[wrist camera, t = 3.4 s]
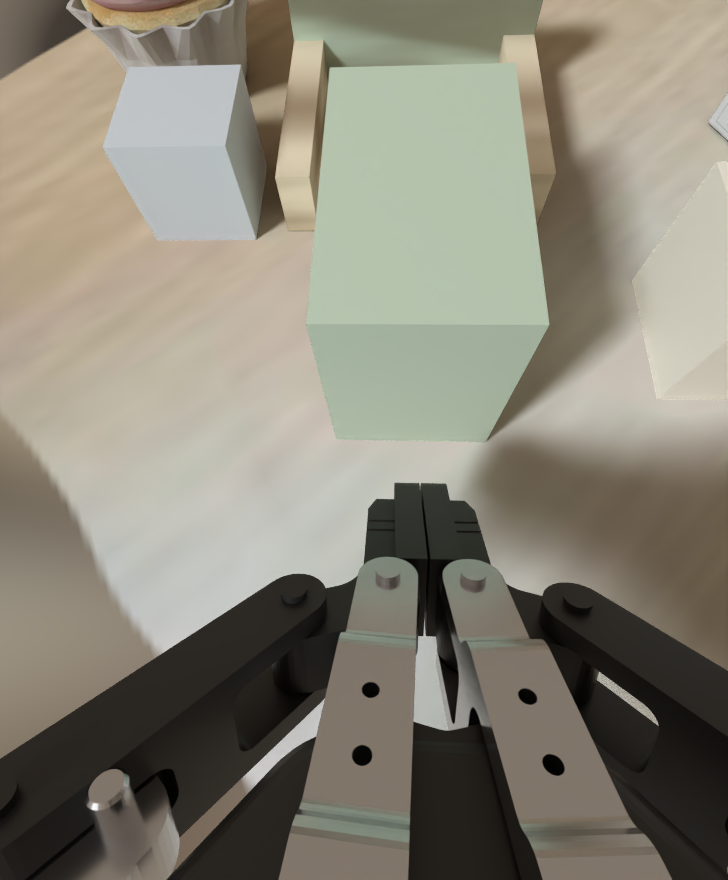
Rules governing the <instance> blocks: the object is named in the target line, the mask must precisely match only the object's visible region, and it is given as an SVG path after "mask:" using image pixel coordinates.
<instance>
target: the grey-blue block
mask: <svg viewBox="0 0 728 880" xmlns="http://www.w3.org/2000/svg"><path fill="white" fill-rule="evenodd" d="M102 148H103V150H104V151H105V153H106V155H107V156H108V158H109V160H110V161H111V163H112V165H113V166H114V168H115V170H116V172H117V173H118V175H119V177H120V178H121V180H122V182H123V183H124V185H125V187H126V188H127V190H128V192H129V194H130V195H131V197H132V199H133V200H134V202H135V204H136V205H137V207H138V209H139V210H140V212H141V214H142V215H143V217H144V219H145V221H146V222H147V224H148V226H149V227H150V229H151V231H152V232H153V234H154V236H155V237H156V239H157V240H256V239H257V232H258V225H259V218H260V212H261V205H262V198H263V191H264V185H265V178H266V171H267V164H266V160H265V156H264V152H263V149H262V145H261V141H260V137H259V133H258V129H257V125H256V121H255V117H254V113H253V110H252V106H251V102H250V98H249V94H248V90H247V86H246V82H245V78H244V74H243V70H242V67H241V65H201V66H160V67H129V68H128V71H127V74H126V77H125V80H124V83H123V87H122V90H121V93H120V96H119V99H118V102H117V105H116V108H115V111H114V114H113V117H112V120H111V123H110V126H109V129H108V132H107V135H106V138H105V141H104V144H103V147H102Z"/></svg>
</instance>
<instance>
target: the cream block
mask: <svg viewBox="0 0 728 880" xmlns="http://www.w3.org/2000/svg"><path fill="white" fill-rule="evenodd" d="M632 284H633V288H634V293H635V298H636V302H637V307H638V312H639V317H640V321H641V326H642V331H643V336H644V340H645V345H646V350H647V355H648V359H649V364H650V369H651V373H652V378H653V383H654V388H655V392H656V397H657V399H667V400H728V161H720V162H716V163H715V165H714V166H713V167H712V169H711V170H710V172H709V173H708V174H707V176H706V177H705V179H704V180H703V181H702V183H701V184H700V186H699V187H698V188H697V190H696V191H695V193H694V194H693V195H692V197H691V198H690V200H689V201H688V202H687V204H686V205H685V207H684V208H683V209H682V211H681V212H680V214H679V215H678V216H677V218H676V219H675V221H674V222H673V224H672V225H671V226H670V228H669V229H668V231H667V232H666V233H665V235H664V236H663V238H662V239H661V240H660V242H659V243H658V245H657V246H656V247H655V249H654V250H653V252H652V253H651V254H650V256H649V257H648V259H647V260H646V261H645V263H644V264H643V266H642V267H641V268H640V270H639V271H638V273H637V274H636V275H635V277H634V278H633V280H632Z"/></svg>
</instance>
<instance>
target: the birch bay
mask: <svg viewBox="0 0 728 880" xmlns="http://www.w3.org/2000/svg"><path fill="white" fill-rule="evenodd" d="M542 2H543V0H288V5H289V12H290V18H291V24H292V31H293V37H294V46H293V53H292V60H291V67H290V74H289V81H288V88H287V95H286V102H285V110H284V117H283V124H282V131H281V138H280V145H279V152H278V159H277V166H276V174H275V179H276V183H277V188H278V192H279V196H280V200H281V204H282V208H283V212H284V216H285V220H286V224H287V228H288V231H315V221H316V210H317V199H318V189H319V178H320V167H321V157H322V146H323V135H324V124H325V114H326V103H327V92H328V82H329V71H330V68H331V67H371V66H411V65H451V64H491V63H516V71H517V78H518V86H519V94H520V101H521V109H522V117H523V125H524V132H525V140H526V148H527V155H528V163H529V171H530V179H531V186H532V194H533V202H534V209H535V217H536V225H537V223H538V221H539V218H540V215H541V213H542V210H543V207H544V205H545V202H546V199H547V197H548V194H549V192H550V189H551V186H552V184H553V181H554V178H555V176H556V169H555V163H554V156H553V150H552V144H551V137H550V131H549V125H548V118H547V112H546V106H545V99H544V93H543V87H542V80H541V74H540V68H539V61H538V55H537V49H536V42H535V36H534V34H535V30H536V26H537V22H538V18H539V14H540V10H541V6H542Z"/></svg>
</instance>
